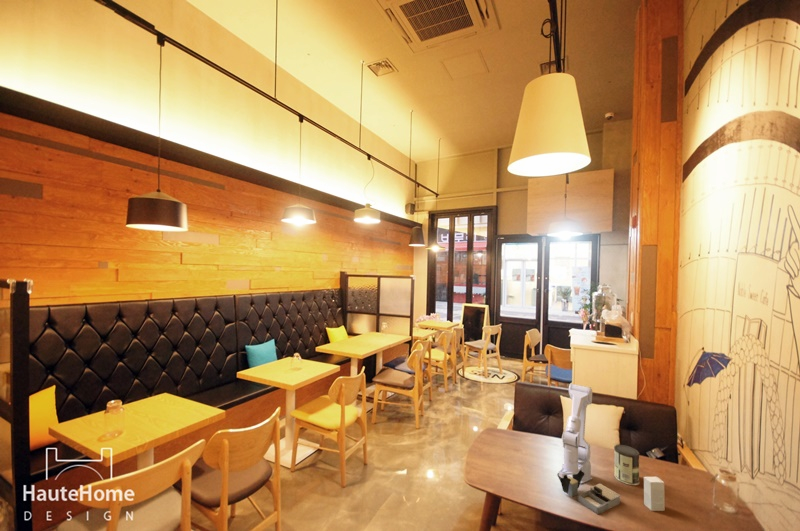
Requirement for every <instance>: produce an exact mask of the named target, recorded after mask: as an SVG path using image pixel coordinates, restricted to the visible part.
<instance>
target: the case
mask: <svg viewBox="0 0 800 531" xmlns="http://www.w3.org/2000/svg"><path fill="white" fill-rule="evenodd" d="M597 495H599V494H598V493H596V492H595V491H593V490H591V489H590V488H589V489H588V490H586V491H584V492H582V493H580V494H579V493H578V494H577V502H578V503H580V504H581V505H582V506H584V507H586V508H587V509H588V510H590V511H591V512H593V513H595V514H597V515H600V514H602V513H604V512H606V511H608V510H610V509H613V508H614V507H616V506H618V505H620V503H621V502H620V501H621V500H620V497H621V496H620V497H618V498H616V499H614V500H612V501H610V500H608V501H605V500H603V499H601V498H600V497H598V496H597Z"/></svg>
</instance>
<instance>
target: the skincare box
mask: <svg viewBox="0 0 800 531" xmlns="http://www.w3.org/2000/svg"><path fill="white" fill-rule="evenodd" d="M665 499H666V498H665V482H664V481H663V480H662V479H661V478H660V477H658V476H643V504H644V506H645V507H646V508H648V509H649V510H650V511H651V512H653V511H654V512H656V511H657V512H660V511H661V512H663V511H664V512H665V510H666V509H665V506H666V505H665V504H666V503H665V502H666V501H665Z"/></svg>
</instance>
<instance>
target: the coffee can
mask: <svg viewBox="0 0 800 531" xmlns="http://www.w3.org/2000/svg"><path fill="white" fill-rule="evenodd" d="M613 450H614V453H613V454H614V475H613V476H614V477H615V478H616V480H617V481H618V482H621V483H623V484H626V485H629V486H638V485H640V452H639V450H637V449H636V448H634V447H632V446H629V445H625V444H616V445H614V447H613Z"/></svg>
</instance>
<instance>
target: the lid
mask: <svg viewBox="0 0 800 531" xmlns="http://www.w3.org/2000/svg"><path fill="white" fill-rule="evenodd" d="M590 489H591V490H593V491H595V492H596V493H598V494H597V495H599V496H602V497H603V498H605V499H606V500H608V501H612V500H614V499H616V498H618V497H621V494H620V493H617V492H616V491H614V490H612V489H611V488H609V487H607V486H605V485H603V484H602V483H597V484H595V485H593V486H590V488H589V490H590Z"/></svg>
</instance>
